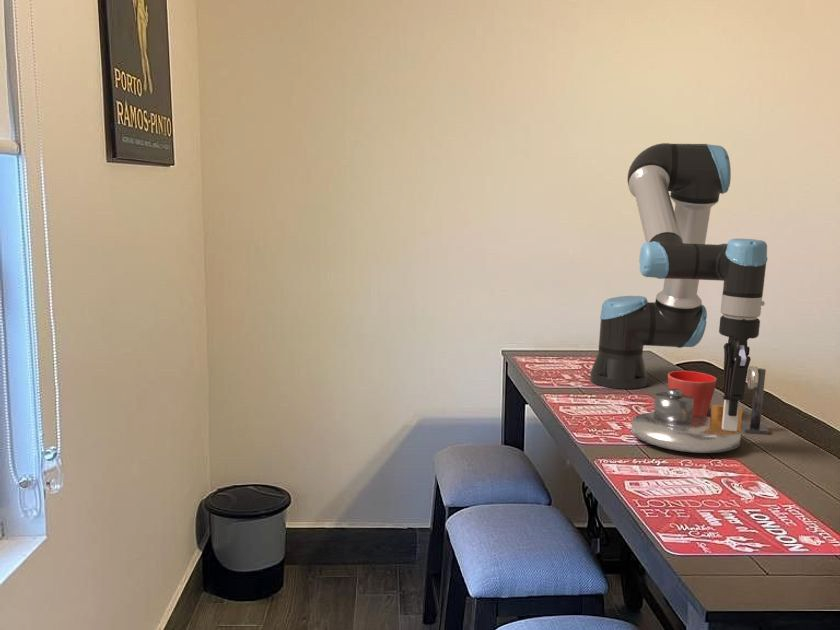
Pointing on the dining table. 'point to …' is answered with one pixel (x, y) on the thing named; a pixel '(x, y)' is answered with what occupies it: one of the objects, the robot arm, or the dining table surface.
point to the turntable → (689, 432)
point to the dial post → (756, 401)
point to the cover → (673, 407)
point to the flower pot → (694, 388)
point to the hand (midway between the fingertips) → (729, 429)
